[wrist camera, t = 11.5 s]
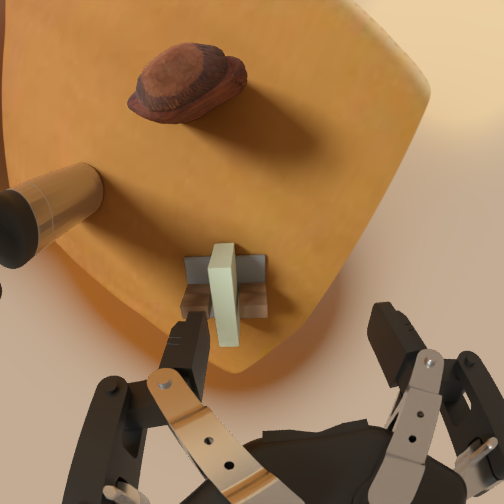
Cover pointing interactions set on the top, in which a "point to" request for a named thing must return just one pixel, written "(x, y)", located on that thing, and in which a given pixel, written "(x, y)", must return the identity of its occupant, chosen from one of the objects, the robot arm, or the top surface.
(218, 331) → the pale green upright slab
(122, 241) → the top surface
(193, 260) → the charcoal base board
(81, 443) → the robot arm
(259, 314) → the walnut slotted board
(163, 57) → the wooden figurine
